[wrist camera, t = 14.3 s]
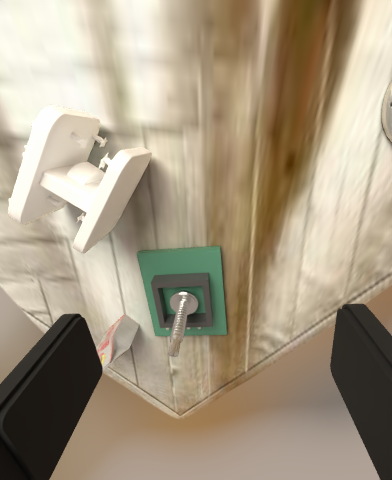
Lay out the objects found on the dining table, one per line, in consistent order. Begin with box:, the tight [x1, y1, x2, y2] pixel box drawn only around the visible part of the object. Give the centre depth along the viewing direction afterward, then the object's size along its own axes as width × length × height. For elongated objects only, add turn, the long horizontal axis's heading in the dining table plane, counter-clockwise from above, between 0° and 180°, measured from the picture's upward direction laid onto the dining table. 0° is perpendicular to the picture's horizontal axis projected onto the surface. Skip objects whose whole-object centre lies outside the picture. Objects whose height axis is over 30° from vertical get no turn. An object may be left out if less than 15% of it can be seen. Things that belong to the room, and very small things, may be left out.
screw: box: [168, 290, 198, 357], centre depth 37 cm, size 13×5×5 cm
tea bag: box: [96, 314, 140, 370], centre depth 45 cm, size 4×7×10 cm, turn 137°
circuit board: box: [137, 246, 227, 336], centre depth 43 cm, size 14×18×4 cm
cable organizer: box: [8, 105, 151, 253], centre depth 32 cm, size 15×11×12 cm
